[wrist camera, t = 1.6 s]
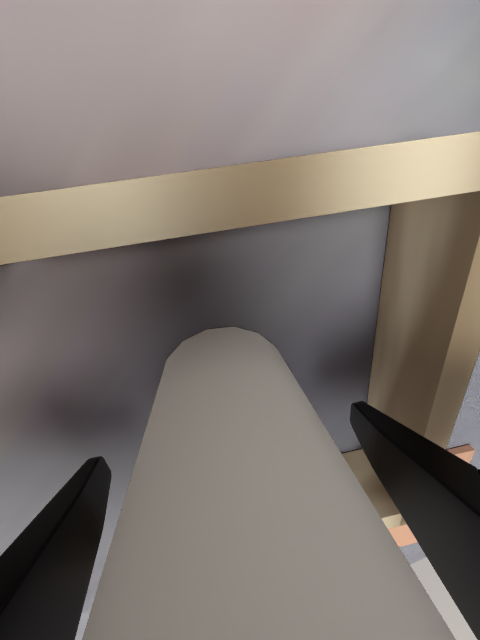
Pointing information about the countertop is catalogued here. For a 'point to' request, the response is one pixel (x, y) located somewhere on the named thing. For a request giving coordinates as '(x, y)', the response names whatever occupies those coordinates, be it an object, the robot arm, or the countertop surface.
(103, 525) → the robot arm
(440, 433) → the beige angled bar
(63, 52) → the countertop surface
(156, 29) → the countertop surface
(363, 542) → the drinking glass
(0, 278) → the countertop surface
